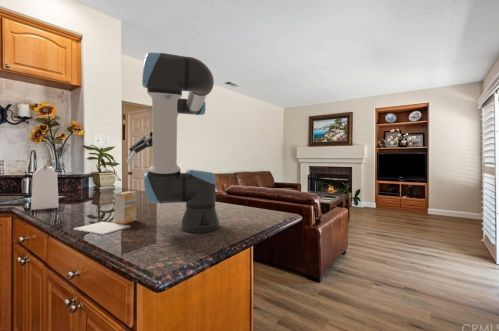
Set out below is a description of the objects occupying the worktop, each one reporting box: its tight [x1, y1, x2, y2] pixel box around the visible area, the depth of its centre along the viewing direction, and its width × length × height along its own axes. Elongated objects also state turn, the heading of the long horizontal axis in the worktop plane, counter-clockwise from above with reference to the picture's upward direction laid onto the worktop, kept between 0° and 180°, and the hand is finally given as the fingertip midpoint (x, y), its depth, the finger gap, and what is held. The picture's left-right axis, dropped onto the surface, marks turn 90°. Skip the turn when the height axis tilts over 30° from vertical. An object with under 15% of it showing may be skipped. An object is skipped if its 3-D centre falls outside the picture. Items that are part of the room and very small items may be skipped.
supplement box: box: [114, 190, 138, 225], centre depth 108 cm, size 8×5×13 cm, turn 168°
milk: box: [30, 159, 59, 211], centre depth 140 cm, size 12×12×26 cm
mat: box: [72, 221, 131, 236], centre depth 98 cm, size 16×12×1 cm
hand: (141, 164), depth 115 cm, fingers open, 13 cm apart
